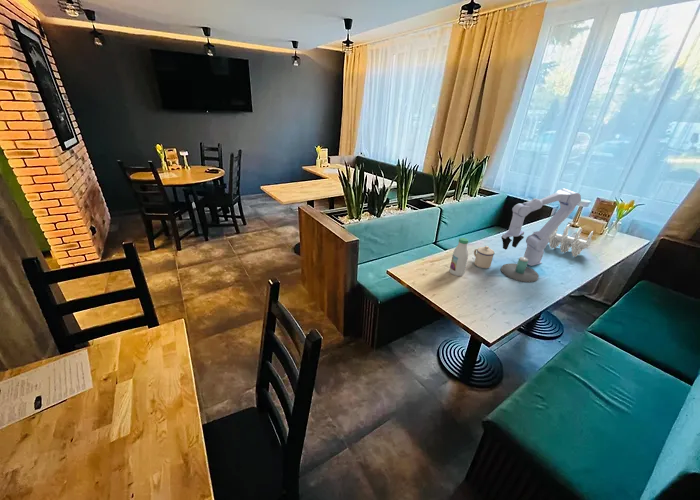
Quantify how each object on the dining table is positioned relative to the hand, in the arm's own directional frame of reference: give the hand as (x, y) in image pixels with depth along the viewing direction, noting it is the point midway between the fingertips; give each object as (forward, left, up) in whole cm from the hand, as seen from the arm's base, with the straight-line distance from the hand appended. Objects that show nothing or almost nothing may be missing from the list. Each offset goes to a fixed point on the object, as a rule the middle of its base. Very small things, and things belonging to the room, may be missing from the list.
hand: (509, 247), depth 166 cm
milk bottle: (+35, -1, -10) cm, 36 cm away
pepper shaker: (+3, +12, -8) cm, 15 cm away
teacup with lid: (+15, -4, -10) cm, 18 cm away
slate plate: (+3, +12, -9) cm, 16 cm away
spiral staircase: (-46, +2, -10) cm, 47 cm away
